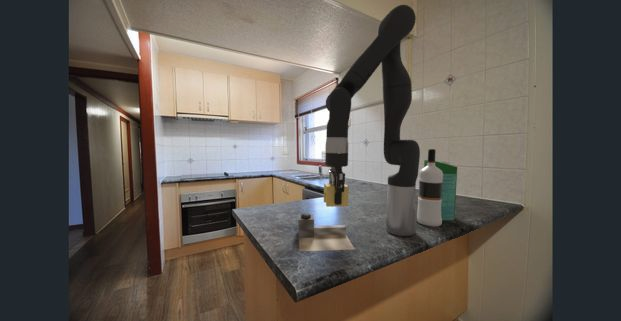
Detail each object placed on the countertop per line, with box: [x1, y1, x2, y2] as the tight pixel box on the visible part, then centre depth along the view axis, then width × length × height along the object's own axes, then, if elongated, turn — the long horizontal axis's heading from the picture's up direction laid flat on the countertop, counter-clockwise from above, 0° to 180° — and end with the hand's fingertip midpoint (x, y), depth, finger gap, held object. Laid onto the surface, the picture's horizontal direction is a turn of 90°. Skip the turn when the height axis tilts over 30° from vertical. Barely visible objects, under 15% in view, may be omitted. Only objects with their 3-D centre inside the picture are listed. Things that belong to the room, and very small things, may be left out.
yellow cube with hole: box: [323, 182, 350, 208], centre depth 69 cm, size 7×6×7 cm
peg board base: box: [297, 212, 356, 252], centre depth 67 cm, size 16×16×8 cm
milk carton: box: [423, 159, 458, 221], centre depth 91 cm, size 9×9×25 cm
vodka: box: [417, 148, 443, 228], centre depth 83 cm, size 9×9×30 cm
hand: (335, 201), depth 69 cm, fingers closed on yellow cube with hole, 6 cm apart
